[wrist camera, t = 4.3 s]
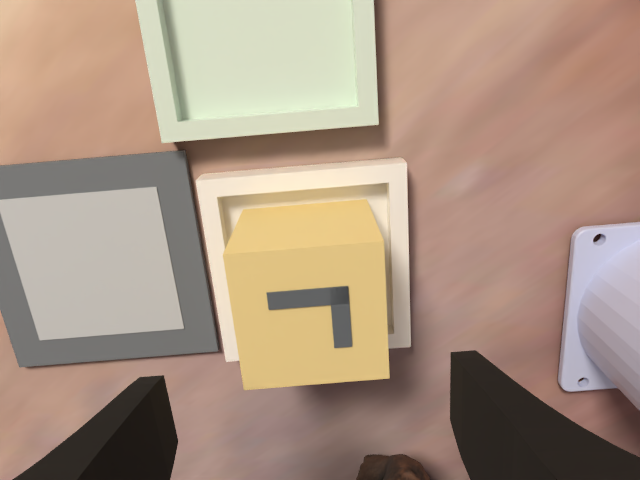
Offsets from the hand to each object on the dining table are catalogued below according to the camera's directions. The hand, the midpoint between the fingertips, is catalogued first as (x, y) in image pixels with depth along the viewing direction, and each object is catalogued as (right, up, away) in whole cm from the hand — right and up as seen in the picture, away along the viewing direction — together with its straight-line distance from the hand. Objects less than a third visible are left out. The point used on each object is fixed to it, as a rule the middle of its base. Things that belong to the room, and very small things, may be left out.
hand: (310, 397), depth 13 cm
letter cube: (0, +3, +8) cm, 9 cm away
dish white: (0, +3, +9) cm, 9 cm away
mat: (-9, +3, +9) cm, 13 cm away
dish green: (-2, +12, +6) cm, 13 cm away
